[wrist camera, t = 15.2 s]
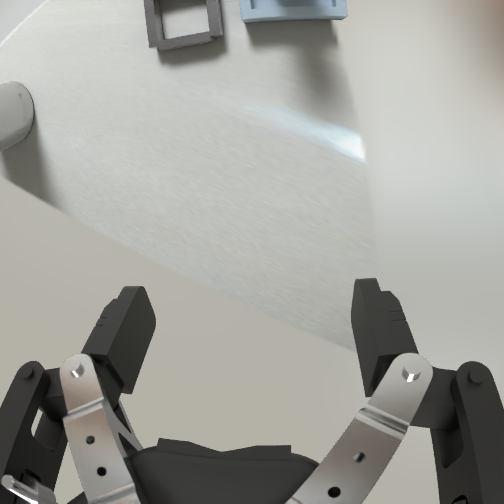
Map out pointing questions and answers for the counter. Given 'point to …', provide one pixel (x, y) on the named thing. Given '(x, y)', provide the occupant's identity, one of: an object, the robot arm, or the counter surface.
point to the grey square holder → (158, 41)
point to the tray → (292, 10)
